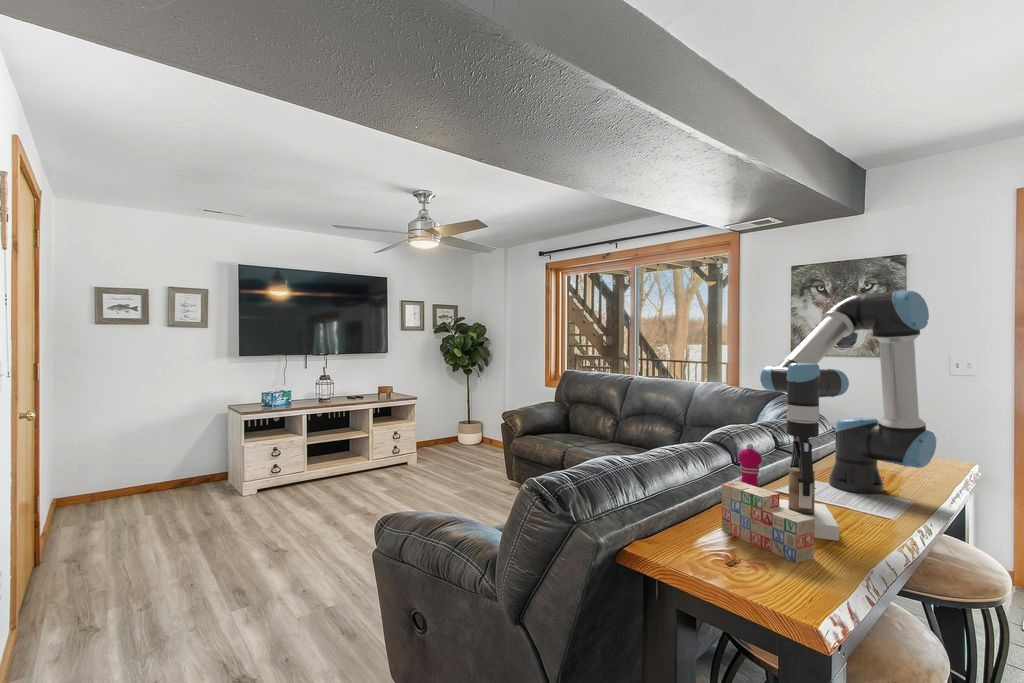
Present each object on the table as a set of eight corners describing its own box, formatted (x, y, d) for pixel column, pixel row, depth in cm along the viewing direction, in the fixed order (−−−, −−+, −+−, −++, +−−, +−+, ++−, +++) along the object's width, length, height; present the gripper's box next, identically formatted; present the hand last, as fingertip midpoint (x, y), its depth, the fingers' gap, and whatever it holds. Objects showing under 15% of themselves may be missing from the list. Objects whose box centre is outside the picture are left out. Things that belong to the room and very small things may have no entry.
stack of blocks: (814, 559, 115) (815, 505, 115) (795, 564, 112) (796, 508, 112) (738, 526, 134) (739, 480, 134) (720, 529, 132) (721, 482, 132)
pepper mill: (766, 519, 139) (767, 447, 139) (738, 517, 140) (739, 445, 140) (759, 510, 146) (760, 441, 146) (732, 508, 148) (733, 440, 147)
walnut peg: (812, 520, 137) (812, 468, 137) (816, 528, 132) (817, 474, 132) (786, 516, 140) (787, 466, 140) (789, 524, 134) (790, 471, 134)
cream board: (824, 516, 141) (825, 504, 141) (839, 540, 125) (839, 526, 125) (768, 510, 147) (769, 498, 147) (775, 532, 130) (775, 518, 130)
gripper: (781, 413, 148) (780, 485, 149) (792, 427, 125) (791, 512, 126) (810, 415, 146) (809, 488, 146) (828, 429, 123) (826, 517, 123)
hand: (801, 500), depth 136 cm, fingers open, 13 cm apart
